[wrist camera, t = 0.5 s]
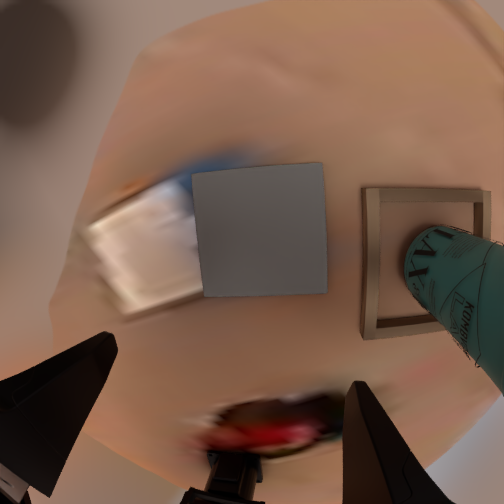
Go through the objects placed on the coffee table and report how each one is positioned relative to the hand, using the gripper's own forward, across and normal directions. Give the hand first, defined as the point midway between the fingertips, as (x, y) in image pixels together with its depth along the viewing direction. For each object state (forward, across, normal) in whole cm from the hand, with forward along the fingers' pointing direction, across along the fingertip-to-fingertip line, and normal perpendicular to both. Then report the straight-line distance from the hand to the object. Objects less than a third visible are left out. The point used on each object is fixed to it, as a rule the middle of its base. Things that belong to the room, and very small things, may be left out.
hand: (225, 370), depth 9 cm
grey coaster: (+14, +1, +1) cm, 14 cm away
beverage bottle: (+14, -14, +1) cm, 20 cm away
